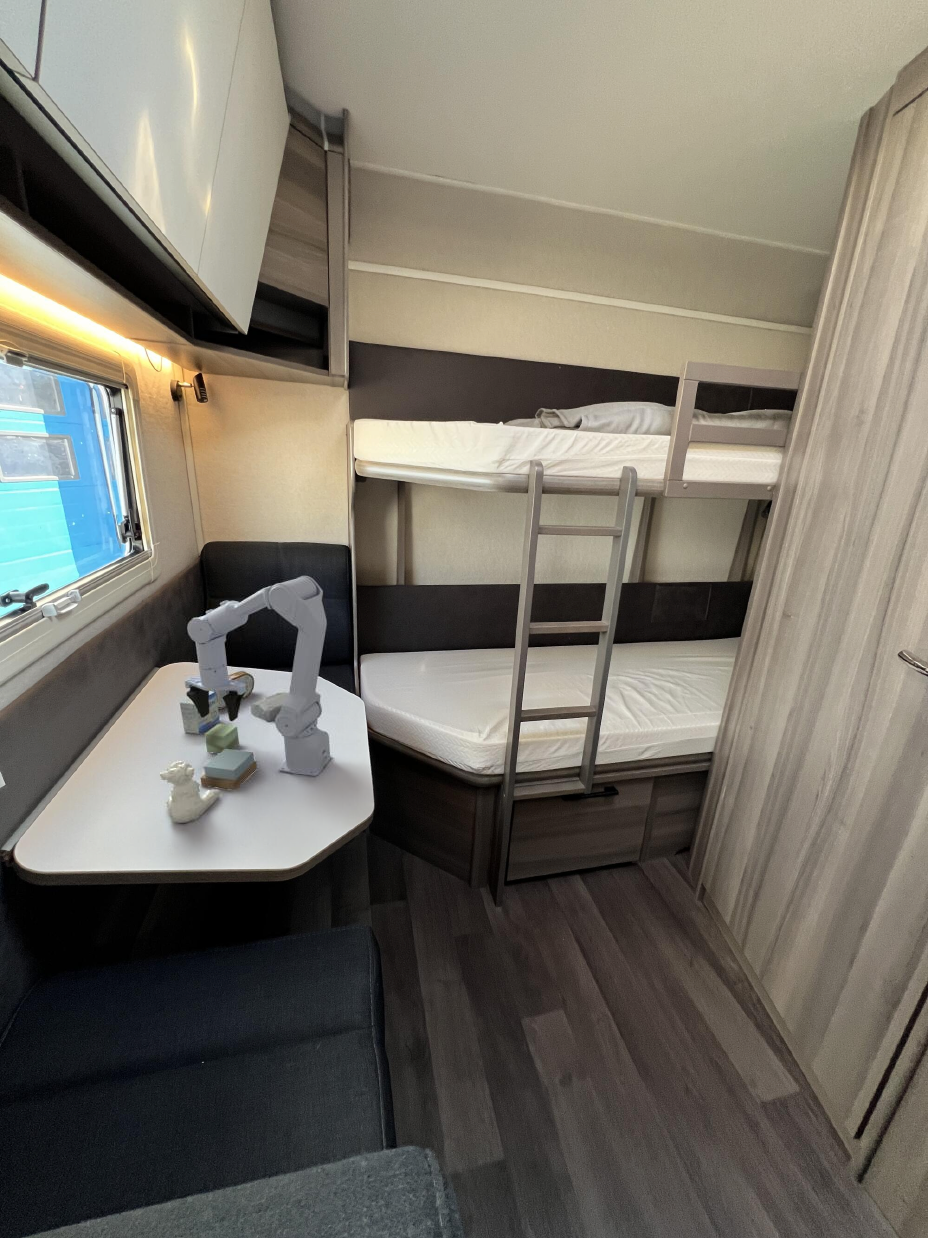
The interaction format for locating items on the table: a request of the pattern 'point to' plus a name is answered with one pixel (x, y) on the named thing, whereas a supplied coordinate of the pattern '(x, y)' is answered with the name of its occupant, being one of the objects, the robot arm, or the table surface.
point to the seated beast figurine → (186, 793)
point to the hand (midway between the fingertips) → (219, 717)
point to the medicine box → (193, 718)
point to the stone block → (269, 707)
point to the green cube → (221, 738)
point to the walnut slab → (228, 783)
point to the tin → (241, 678)
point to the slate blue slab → (229, 764)
